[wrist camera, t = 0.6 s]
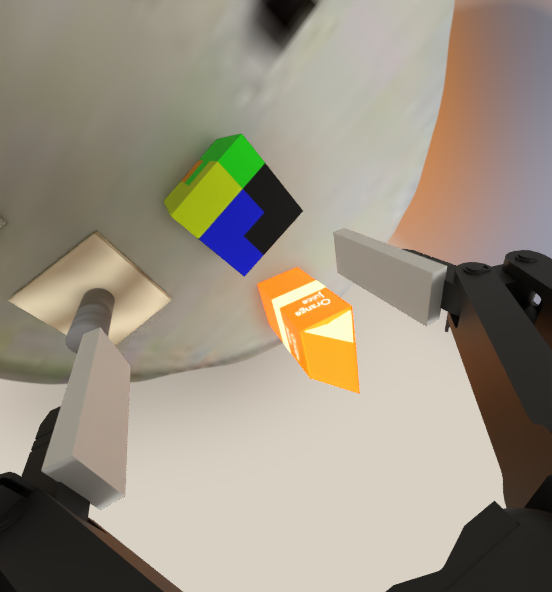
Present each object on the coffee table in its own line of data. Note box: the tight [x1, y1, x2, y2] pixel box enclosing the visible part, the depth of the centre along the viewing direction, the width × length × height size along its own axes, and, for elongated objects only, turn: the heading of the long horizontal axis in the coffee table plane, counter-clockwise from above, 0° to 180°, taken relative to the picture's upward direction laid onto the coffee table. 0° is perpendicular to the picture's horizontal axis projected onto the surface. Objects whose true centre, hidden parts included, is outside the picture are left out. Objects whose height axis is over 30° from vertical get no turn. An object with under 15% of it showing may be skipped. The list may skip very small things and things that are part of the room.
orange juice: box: [258, 267, 360, 393], centre depth 39 cm, size 8×9×20 cm
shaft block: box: [9, 231, 171, 353], centre depth 31 cm, size 12×12×10 cm
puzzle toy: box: [164, 134, 303, 276], centre depth 32 cm, size 10×10×10 cm
